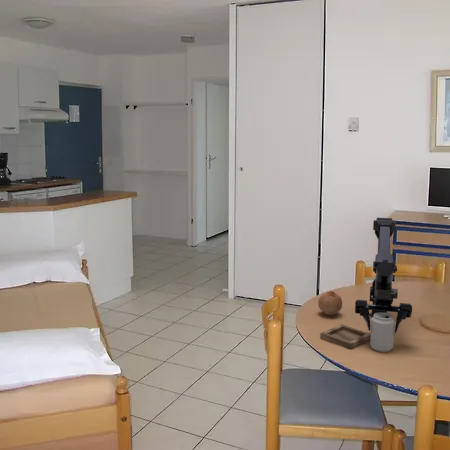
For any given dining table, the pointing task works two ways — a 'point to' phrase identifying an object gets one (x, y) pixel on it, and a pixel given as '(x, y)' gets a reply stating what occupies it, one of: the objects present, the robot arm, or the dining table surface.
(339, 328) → the brown wooden tray
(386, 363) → the dining table surface
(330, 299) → the onion
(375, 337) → the can
